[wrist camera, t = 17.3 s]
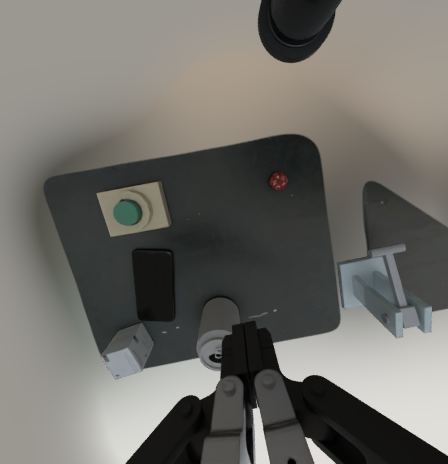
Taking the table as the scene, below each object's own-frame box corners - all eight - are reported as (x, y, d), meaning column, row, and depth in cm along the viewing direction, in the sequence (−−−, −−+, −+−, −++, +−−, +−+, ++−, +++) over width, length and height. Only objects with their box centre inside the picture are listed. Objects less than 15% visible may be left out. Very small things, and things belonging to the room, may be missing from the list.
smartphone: (175, 319, 48) (173, 249, 43) (174, 322, 47) (172, 251, 42) (138, 318, 48) (132, 248, 43) (137, 321, 47) (130, 249, 42)
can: (200, 322, 48) (191, 371, 36) (206, 291, 46) (199, 333, 34) (234, 329, 48) (236, 379, 36) (242, 299, 46) (247, 342, 35)
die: (266, 174, 39) (270, 174, 36) (284, 170, 39) (288, 171, 36) (269, 190, 40) (272, 192, 37) (286, 187, 40) (290, 189, 37)
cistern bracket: (336, 262, 44) (380, 299, 31) (384, 252, 43) (447, 286, 31) (341, 306, 46) (383, 355, 34) (386, 297, 45) (445, 345, 33)
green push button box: (161, 181, 40) (154, 182, 36) (172, 223, 42) (166, 229, 38) (102, 192, 41) (89, 194, 37) (116, 233, 43) (105, 240, 39)
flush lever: (364, 249, 36) (372, 249, 34) (396, 243, 36) (407, 242, 34) (385, 324, 35) (395, 330, 33) (417, 318, 35) (430, 324, 32)
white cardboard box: (155, 343, 49) (142, 372, 42) (131, 351, 50) (115, 381, 43) (142, 321, 48) (127, 347, 41) (117, 330, 49) (98, 357, 42)
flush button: (137, 198, 37) (133, 199, 35) (144, 221, 38) (140, 223, 37) (115, 202, 37) (109, 203, 36) (122, 225, 38) (117, 227, 37)
